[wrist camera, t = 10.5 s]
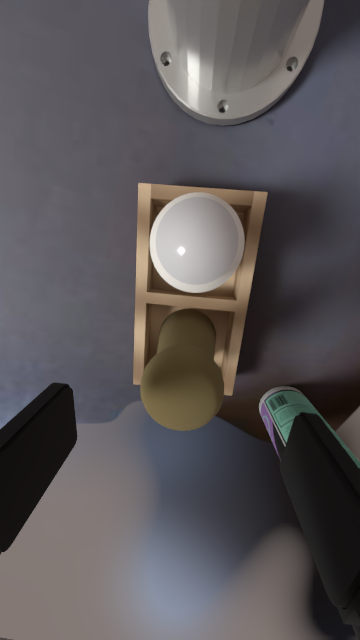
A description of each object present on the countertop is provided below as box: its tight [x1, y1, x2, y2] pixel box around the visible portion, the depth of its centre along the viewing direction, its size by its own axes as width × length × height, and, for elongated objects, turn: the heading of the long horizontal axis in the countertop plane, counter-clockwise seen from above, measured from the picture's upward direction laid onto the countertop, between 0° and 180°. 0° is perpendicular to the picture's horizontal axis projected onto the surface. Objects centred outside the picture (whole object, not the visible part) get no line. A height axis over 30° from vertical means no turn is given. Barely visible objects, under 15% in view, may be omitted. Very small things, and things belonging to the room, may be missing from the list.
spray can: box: [259, 386, 360, 640], centre depth 15 cm, size 6×6×20 cm
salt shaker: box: [150, 192, 245, 293], centre depth 15 cm, size 5×5×10 cm
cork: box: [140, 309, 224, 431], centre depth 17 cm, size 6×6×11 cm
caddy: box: [133, 183, 268, 396], centre depth 20 cm, size 18×10×4 cm, turn 175°
